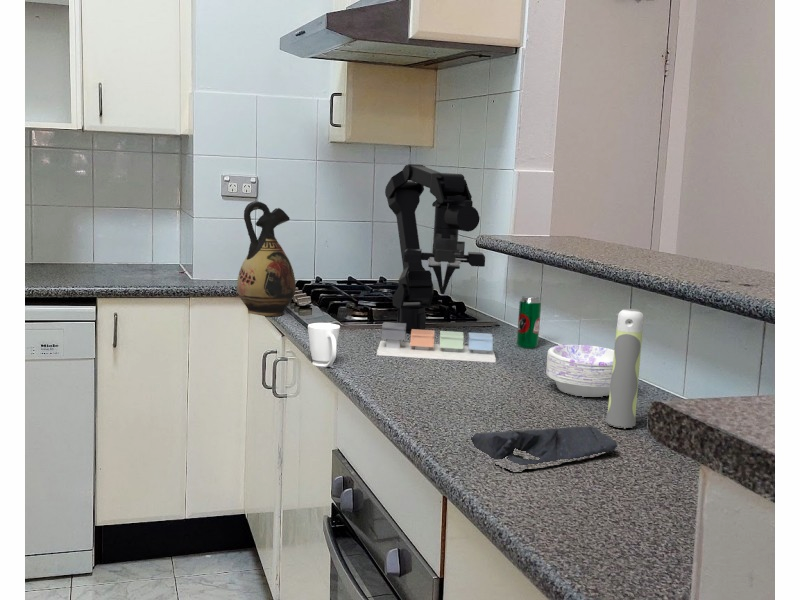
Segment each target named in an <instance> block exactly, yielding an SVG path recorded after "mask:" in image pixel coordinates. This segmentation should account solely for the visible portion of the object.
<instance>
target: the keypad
mask: <svg viewBox="0 0 800 600" xmlns="http://www.w3.org/2000/svg"><path fill="white" fill-rule="evenodd" d="M439 347H440V343H434V347H422V346H410V342H404V341H401V340H397V339H386V340H380V342H379V344H378V347H377V350H376V356H384V357H398V358H399V357H400V358H416V359H418V358H419V359H431V360H432V359H435V360H447V361H449V360H450V361H463V362H482V363H496V361H497V358H496V355H495V352H494V349H493V348H494V347H492V351H488V350H472V349H469V348H468V345H463V349H455V348H439Z"/></svg>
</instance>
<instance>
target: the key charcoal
mask: <svg viewBox="0 0 800 600" xmlns="http://www.w3.org/2000/svg"><path fill="white" fill-rule="evenodd" d="M406 334H407V332H406V323H397V322H389V321H387V322H386V321H384V322H383V323H382V325H381V340H382V339H383V340H384V339H385V340H387V339H397V340H400V341H406V336H407V335H406Z"/></svg>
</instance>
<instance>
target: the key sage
mask: <svg viewBox="0 0 800 600" xmlns="http://www.w3.org/2000/svg"><path fill="white" fill-rule="evenodd" d="M464 337H465V336H464V332H463V331H448V330H446V331H445V330H440V331H439V344H440V347H439V348H455V349H463V346H464V339H465V338H464Z"/></svg>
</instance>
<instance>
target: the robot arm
mask: <svg viewBox="0 0 800 600" xmlns="http://www.w3.org/2000/svg"><path fill="white" fill-rule="evenodd" d="M425 188H428V189H429V193H430V194H431V195H432V196H434V197H435V200H434V201H433V202H432V204H431V205H432V207H433V208H434V207H435V208H434V221H433V222H434V225H433V237H432V240H433V241H432V242H433V243H432V252H424V251H422V250H423V249H422V248H420V247H421V246H420V239H419V233H418V224H417V218H416V210H417V208H418V206H419V204H420V202H421V201H420V197H421V195H422V193H423V192H424V191H425ZM384 194H385V197H386V200H387V204H388V207H389V209H390V210H391V212H392V213H393V214H394V215H395V216H396V223H397V231H398V240H399V248H400V253H401V254H400V255H401V262H402V272H401V274H400V276H399V279H398V287H397V288H396V290H395V292H394V294H393V296H392V299H391V300H392V306H393V307H395V308H397V317H396V318H397V320H396V321H397V322H396V323H406V334H407V333H408V334H411V330H412V329H418V330H428V328H426V323H427V322H426V321H427V320H426V319H427V314H426V308H429V309H431V307H432V302H433V298H434V293H435V289H434V288H435V287H434V284H433V281H432V279H433V278H432V273H431V271H430V270H427V269H426V268H425V267H424V266H423V262H422V261H427V262H428V266H427V267H428V268H432V270H433V272H434V274H435V277H436V280H437V281H436V282H437V285H438V289H439V292H440V295H445V293H446V290H447V288H448V285H449V282H450V280H451V278H452V276H453V275H454V272H455V271H456V270H458V269H459V270H460V268H461V265H460V264H461V263H468V264H469V265H470V266H471V267H479V268H480V267H486V255H485V254H484V253H483V252H477V251H467V254H465V244H466V242H465V241H460V240H459V231H463V232H472V231H474V230H475V229H477V227H478V226H479V224H480V218H481V217H480V215H479V214H480V213H479V212H478V210H477V208H476V207H474V205H473V202H474V201H473V200H472V197H473V196H472V194H471V192H470V189H469V187H468V183H467V180H466V179H465V176H464V174H462V173H451V172H450V173H449V172H441V171H440V172H439V171H437V170H435V169H432V168H429V167H427V166H425V165H423V164H417V163H416V164H412V163H408V164H405V166H403V168H402V170H401V171H399V172H398V173H395V174H394V175H392V177H390V179H389V181H388V182H387V184H386V186H385V189H384ZM441 262H442V263H443V262H444V263H447V264H446V268H445V272H444V279H443V275H442V274H443V273H442V263H441Z"/></svg>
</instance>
